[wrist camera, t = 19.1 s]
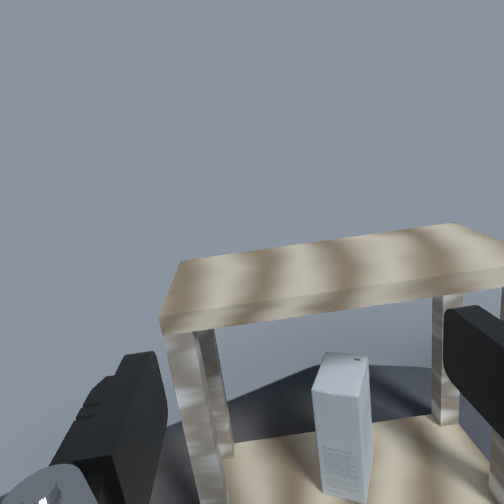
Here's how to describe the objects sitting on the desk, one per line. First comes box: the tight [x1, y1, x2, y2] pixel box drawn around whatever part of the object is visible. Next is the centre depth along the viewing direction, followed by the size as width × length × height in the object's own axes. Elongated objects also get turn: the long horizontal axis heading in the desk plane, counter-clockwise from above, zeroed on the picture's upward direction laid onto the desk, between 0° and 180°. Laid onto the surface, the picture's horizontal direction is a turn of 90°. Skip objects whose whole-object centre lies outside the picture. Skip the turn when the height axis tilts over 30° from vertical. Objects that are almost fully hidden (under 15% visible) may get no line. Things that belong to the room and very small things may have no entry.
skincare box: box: [311, 352, 373, 504], centre depth 36 cm, size 6×4×12 cm
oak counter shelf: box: [158, 223, 504, 504], centre depth 34 cm, size 27×12×24 cm, turn 93°
